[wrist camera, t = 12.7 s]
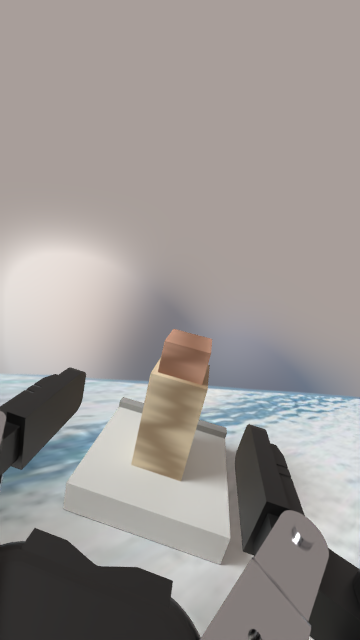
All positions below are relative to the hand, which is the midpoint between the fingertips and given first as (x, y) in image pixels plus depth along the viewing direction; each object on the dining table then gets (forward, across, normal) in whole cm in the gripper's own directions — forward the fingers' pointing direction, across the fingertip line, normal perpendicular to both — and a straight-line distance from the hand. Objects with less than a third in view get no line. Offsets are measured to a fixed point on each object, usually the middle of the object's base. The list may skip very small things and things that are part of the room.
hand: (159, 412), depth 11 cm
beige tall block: (+11, -1, +13) cm, 17 cm away
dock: (+11, -1, +16) cm, 19 cm away
